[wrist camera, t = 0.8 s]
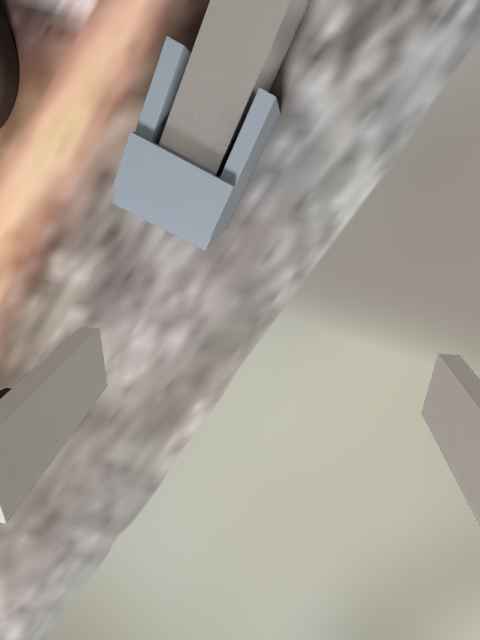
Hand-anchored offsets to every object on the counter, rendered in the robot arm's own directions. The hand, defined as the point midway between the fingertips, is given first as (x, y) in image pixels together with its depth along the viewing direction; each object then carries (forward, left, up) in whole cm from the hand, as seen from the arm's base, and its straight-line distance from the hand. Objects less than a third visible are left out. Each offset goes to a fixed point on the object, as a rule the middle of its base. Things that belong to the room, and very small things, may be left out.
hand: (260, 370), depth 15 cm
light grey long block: (-12, +5, -25) cm, 28 cm away
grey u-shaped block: (-10, +1, -25) cm, 27 cm away
